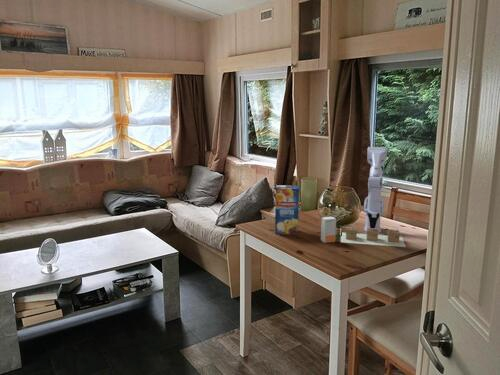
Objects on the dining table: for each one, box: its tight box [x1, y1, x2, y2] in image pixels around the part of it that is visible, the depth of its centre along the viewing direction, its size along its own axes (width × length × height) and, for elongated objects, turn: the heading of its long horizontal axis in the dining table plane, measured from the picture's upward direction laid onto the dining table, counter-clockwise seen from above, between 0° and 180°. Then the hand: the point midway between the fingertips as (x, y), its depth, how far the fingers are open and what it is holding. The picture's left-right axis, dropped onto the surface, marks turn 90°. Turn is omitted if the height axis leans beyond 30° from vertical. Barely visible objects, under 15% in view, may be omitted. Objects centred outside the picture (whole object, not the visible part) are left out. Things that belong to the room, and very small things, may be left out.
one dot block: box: [387, 228, 401, 243], centre depth 212 cm, size 5×5×5 cm
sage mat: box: [340, 232, 406, 248], centre depth 214 cm, size 16×30×1 cm, turn 77°
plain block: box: [366, 228, 379, 241], centre depth 214 cm, size 5×5×5 cm
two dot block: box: [345, 226, 358, 240], centre depth 216 cm, size 5×5×5 cm
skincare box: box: [320, 216, 337, 244], centre depth 211 cm, size 6×4×12 cm
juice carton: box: [274, 184, 300, 235], centre depth 225 cm, size 12×8×24 cm, turn 84°
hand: (372, 227), depth 213 cm, fingers closed
